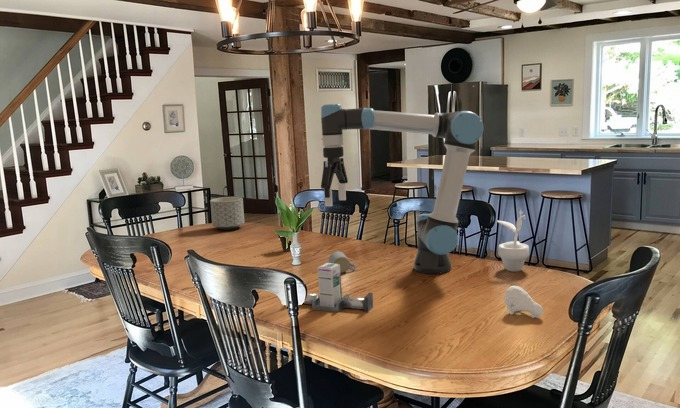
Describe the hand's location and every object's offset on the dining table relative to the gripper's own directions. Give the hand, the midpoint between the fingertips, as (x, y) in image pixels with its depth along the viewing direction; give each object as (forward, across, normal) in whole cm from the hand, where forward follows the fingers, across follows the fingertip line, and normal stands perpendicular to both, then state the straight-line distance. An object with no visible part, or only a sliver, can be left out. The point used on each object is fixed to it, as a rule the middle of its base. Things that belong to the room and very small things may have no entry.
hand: (335, 203), depth 202 cm
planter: (+32, -84, -106) cm, 139 cm away
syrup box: (+32, +23, +6) cm, 40 cm away
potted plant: (+32, -34, +61) cm, 77 cm away
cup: (+32, -43, -45) cm, 70 cm away
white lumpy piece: (+32, +15, +68) cm, 77 cm away
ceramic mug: (+32, -18, -6) cm, 37 cm away
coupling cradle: (+32, +23, +6) cm, 40 cm away
